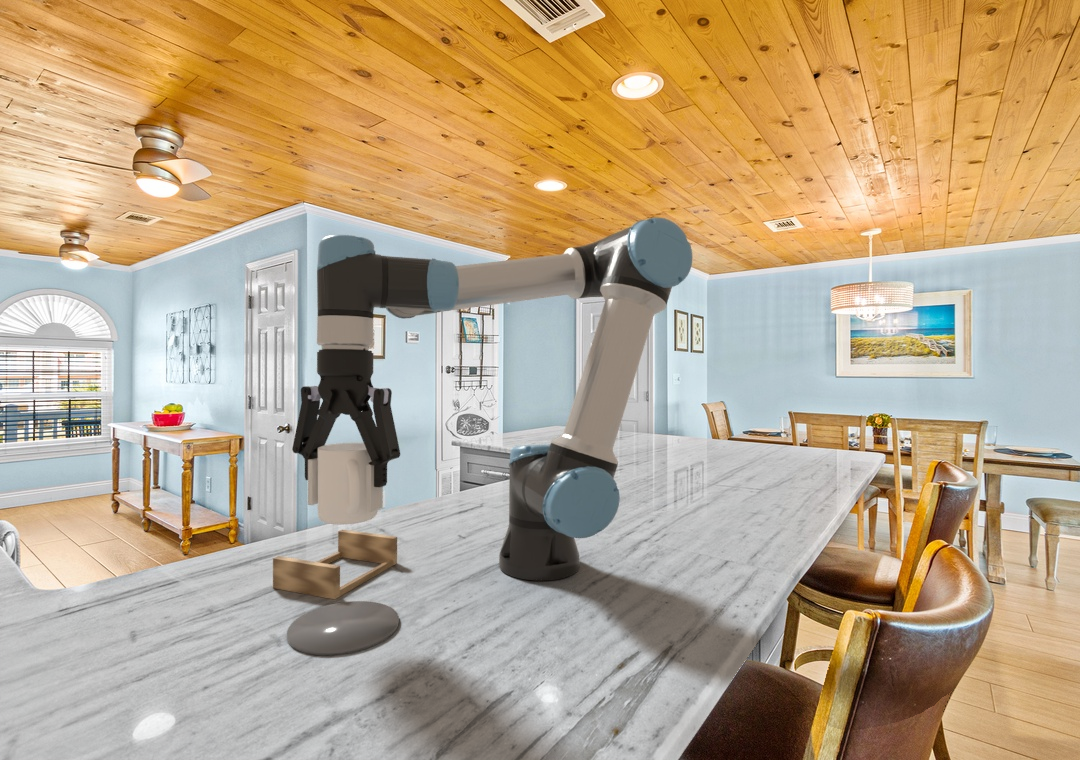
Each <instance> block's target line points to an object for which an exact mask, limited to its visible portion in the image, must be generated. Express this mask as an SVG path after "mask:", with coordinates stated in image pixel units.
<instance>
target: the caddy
mask: <svg viewBox="0 0 1080 760" xmlns="http://www.w3.org/2000/svg"><path fill="white" fill-rule="evenodd" d="M337 532H338V533H337V552H335V553H333V554H330V555H328V556H325V557H324V558H322V559H319V560H318V561H311V560H305V559H299V558H293V557H287V556H281V555H278V556H276V557H273V558H272V589H276V590H283V591H288V592H293V593H299V594H304V595H310V596H315V597H320V598H326V599H332V600H336V599H339V598H340V597H342V596H343V595H345V594H347V593H348V592H350V591H352V590H354V589H355V588H357V587H358V586H360V585H362V584H364V583H366V582H367V581H369V580H370V579H373V578H374V577H375V576H378V575H379V574H381V573H382V572H385V571H386V570H389V568H392V567H393V566H395V565H396V564H398V536H392V535H386V534H385V535H384V534H377V533H368V532H363V531H355V530H347V529H341V530H338V531H337ZM341 558H343V559H349V560H358V561H364V562H370V563H378V564H379V565H377V566H376V567H374V568H372V569H370V570H368V571H366V572H364V573H363V574H361V575H360V576H358V577H356V578H354V579H352V580H350V581H348V582H347V583H345V584H343V585H342V586H341V565H337V564H331V563H332V562H334V561H337V560H339V559H341Z"/></svg>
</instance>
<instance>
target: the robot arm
mask: <svg viewBox="0 0 1080 760" xmlns="http://www.w3.org/2000/svg"><path fill="white" fill-rule="evenodd" d="M317 250H318V251H317V253H318V254H317V266H316V283H317V284H316V288H317V289H316V291H317V292H316V293H317V295H316V297H317V299H316V300H317V302H316V303H317V317H316V320H317V321H316V323H317V324H316V327H317V328H316V344H317V345H318V346H321V349H318V351H316V374H317V375H318V376H320V381H319V384H318V385H311V386H310V385H309V386H308V385H307V386H302V387H300V397H301V398H300V400H301V405H300V409H299V413H298V419H297V423H296V424H297V425H296V429H295V433H294V434H295V435H294V439H293V444H292V452H293V453H294V454H299V455H301V456H302V457H303V459H304V479H305V481H307V505H308V506H315V505H318V447H320V446H324V445H326V443H327V440H328V438H329V436H330V434H331V432H332V429H333V427H334V426H335V422H336V420H337V419H338V418H339V417H340V416H341V415H346V416H347V415H348V416H349V417H350V420H352V421H354V422H355V425H356V427H357V430H358V433H359V435H360V437H361V439H362V443H364V444H365V447H366V449H367V452H368V454H369V456H370V459H371V462H369V464H367V465H366V512H373V511H376V510H378V511H379V510H380V509H383V505H384V504H383V501H384V500H383V497H384V495H383V492H384V487H385V486H387V485H388V484H387V483H388V463H389V462H390V461H393V460H395V459H398V458H400V456H401V449H400V445H399V441H398V435H397V431H396V424H395V419H394V416H393V415H394V414H393V410H392V405H391V403H392V389H391V388H389V387H385V388H384V387H383V388H378V387H374V386H373V382H372V376H373V374H374V352H373V351H372V350H370V348H369V347H373V346H374V317H375V315H374V310H375V308H379V309H386V311H387V312H388V313H389V314H391V315H392V316H394V317H397V318H398V319H411V318H415V317H417V316H423V315H431V314H438V313H442V312H443V313H444V312H449V311H458V310H462V309H463V310H464V309H471V308H479V307H485V306H486V307H487V306H493V305H499V304H501V305H502V304H508V303H515V302H523V301H531V300H537V299H538V300H539V299H544V298H551V297H560V296H567V295H568V297H569V298H570V299H574V300H577V299H585V298H603V299H604V304H603V307H602V310H601V314H600V317H599V320H598V323H597V326H596V330H595V332H594V335H593V340H592V342H591V346H590V348H589V352H588V355H587V358H586V360H585V361H586V362H585V365H584V368H583V370H582V374H581V376H580V380H579V383H578V386H577V390H576V393H575V396H574V399H573V402H572V406H571V409H570V412H569V415H568V418H567V421H566V424H565V427H564V431H563V433H562V435H560V436H557V438H554V439H552V440H551V442H550V444H529V445H528V444H527V445H516V446H514V447H512V449H511V450H510V453H509V454H510V455H509V462H508V467H509V480H508V481H509V485H508V486H509V488H508V490H509V492H508V493H509V494H508V495H509V496H508V497H509V498H508V499H509V502H508V503H509V504H508V515H509V516H508V528H507V531H506V533H505V537H504V538H503V542H502V545H501V548H500V552H499V555H498V556H499V557H498V558H499V559H498V560H499V563H498V566H499V569H500V571H502V572H503V573H504V574H506V575H507V576H510V577H513V578H516V579H519V580H520V579H521V580H525V581H542V582H543V581H555V580H560V579H564V578H568V577H571V576H572V575H575V574H576V573H577V572H578V571H579V570H580V553H579V550H578V547H577V546H578V545H577V542H576V539H585V538H590V537H593V536H595V535H597V534H598V533H600V532H602V531H603V530H606V528H607V527H608V526H609V525H610V524H611V523H612V521H613V520H614V519H615V517H616V514H617V512H618V510H619V506H620V501H621V498H620V490H619V489H618V485H617V482H616V480H615V478H614V477H615V474H616V472H617V468H618V464H619V461H618V459H617V456H616V454H615V453H614V446H615V442H616V440H617V436H618V433H619V430H620V426H621V423H622V420H623V417H624V414H625V410H626V406H627V403H628V400H629V397H630V394H631V390H632V388H633V384H634V382H635V381H634V380H635V378H636V375H637V371H638V368H639V366H640V365H639V364H640V361H641V357H642V355H643V352H644V349H645V345H646V341H647V338H648V335H649V332H650V330H651V326H652V323H653V318H654V316H655V315H657V314H658V313H660V312H662V311H664V310H665V309H666V308H667V305H668V300H669V298H670V295H671V292H672V289H673V288H674V287H676V286H678V285H680V284H681V283H682V282H684V281H685V279H686V278H687V277H688V275H689V274H690V272H691V270H692V266H693V249H692V246H691V242H689V241H688V239H687V234H686V233H685V231H684V230H683V229H682V228H681V226H679V225H678V224H677V223H675V222H674V221H672V220H670V219H668V218H665V217H651V218H647V219H641V220H639V221H638V220H637V221H636V222H635V223H633V224H632V225H631V226H629V227H627V228H625V229H623V230H620V231H617V232H615V233H613V234H610V235H608V236H606V237H604V238H601V239H599V240H596V241H594V242H591V243H589V244H586V245H585V244H584V245H581V246H573V247H569V248H566V249H565V251H564V252H563V253H561V254H554V255H544V256H537V257H528V258H527V257H525V258H524V257H523V258H517V259H507V260H501V261H500V260H498V261H492V262H491V261H490V262H480V263H473V264H472V263H471V264H463V265H455V264H454V262H451V261H448V260H447V261H446V260H438V259H436V258H431V259H429V258H417V257H416V258H415V257H405V256H404V257H403V256H389V255H382V254H379V253H377V254H376V250H375V246H374V242H372V241H371V239H369V238H366V237H364V236H356V235H352V234H351V235H349V234H332V235H327V236H325V237H323V238H322V239H321V240H320V241H319V244H318V248H317ZM321 399H322V401H321ZM369 401H370V402H372V408H371V405H370V403H369ZM372 409H373V410H372ZM373 415H374V417H373ZM374 419H375V420H374Z"/></svg>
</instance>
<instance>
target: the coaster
mask: <svg viewBox="0 0 1080 760" xmlns="http://www.w3.org/2000/svg"><path fill="white" fill-rule="evenodd" d="M399 617H400V615H399V614H398V612H397V611H396V610H395V609H394V608H392V607H391V606H389V605H387V604H384V603H380V602H376V601H365V600H357V601H354V600H353V601H352V600H351V601H343V602H337V603H331V604H327V605H324V606H321V607H317V608H315V609H312V610H310V611H308V612H306V613H304V614H301V616H299V617H297V618H296V619H295V620H294V621H292V622H291V624H289V626H288V628H287V630H286V641H287V643H288V645H289V646H290V647H291V648H293V649H294V650H295V651H298V652H301V653H304V654H307V655H313V656H338V655H346V654H351V653H352V654H353V653H356V652H359V651H363V650H366V649H369V648H372V647H374V646H377V645H378V644H381V643H382V642H384V641H386V640H387V639H389V638H390V637H391V636H392V635H393V634H394V633H395V632H396V630H397V629H398V627H399V624H400V623H399V622H400V620H399V619H400V618H399Z"/></svg>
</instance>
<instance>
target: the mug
mask: <svg viewBox="0 0 1080 760" xmlns="http://www.w3.org/2000/svg"><path fill="white" fill-rule="evenodd" d="M369 462H371V459H370V456H369V454H368V452H367V449H366V447H365V444H364V442H342V443H341V442H338V443H330V444H325V445H324V446H320V447H318V504H317V515H318V519H319V520H320V521H321V522H322V523H325V524H328V525H353V524H359V523H365V522H367V521H370V520H372V519H374V518H375V517H376V516H377V515H378V511H379V509H378V510H376V511H373V512H366V465H367V464H369Z"/></svg>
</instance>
